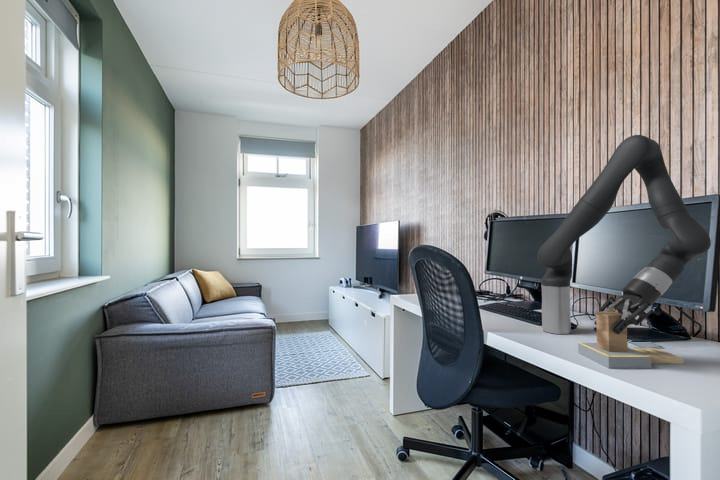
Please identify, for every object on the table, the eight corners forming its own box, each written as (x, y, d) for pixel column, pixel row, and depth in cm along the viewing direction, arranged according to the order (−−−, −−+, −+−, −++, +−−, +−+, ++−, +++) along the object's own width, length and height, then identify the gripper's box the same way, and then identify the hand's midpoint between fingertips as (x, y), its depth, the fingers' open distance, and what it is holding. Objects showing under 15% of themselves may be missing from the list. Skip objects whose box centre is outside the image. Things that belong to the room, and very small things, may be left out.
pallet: (619, 352, 103) (619, 347, 103) (652, 352, 102) (652, 346, 102) (646, 363, 93) (646, 357, 93) (683, 363, 92) (683, 357, 92)
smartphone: (642, 348, 106) (606, 334, 121) (642, 351, 106) (606, 337, 121) (665, 347, 106) (627, 333, 121) (665, 350, 106) (627, 336, 121)
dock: (578, 352, 102) (578, 342, 102) (615, 352, 102) (615, 342, 102) (608, 368, 89) (608, 356, 89) (651, 368, 89) (651, 356, 89)
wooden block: (596, 346, 99) (595, 311, 99) (614, 346, 98) (614, 311, 99) (608, 352, 93) (608, 315, 94) (628, 352, 93) (627, 315, 93)
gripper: (618, 275, 103) (579, 314, 103) (658, 279, 89) (614, 325, 89) (636, 292, 103) (597, 331, 103) (680, 299, 89) (635, 345, 89)
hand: (605, 328), depth 96 cm, fingers open, 6 cm apart
